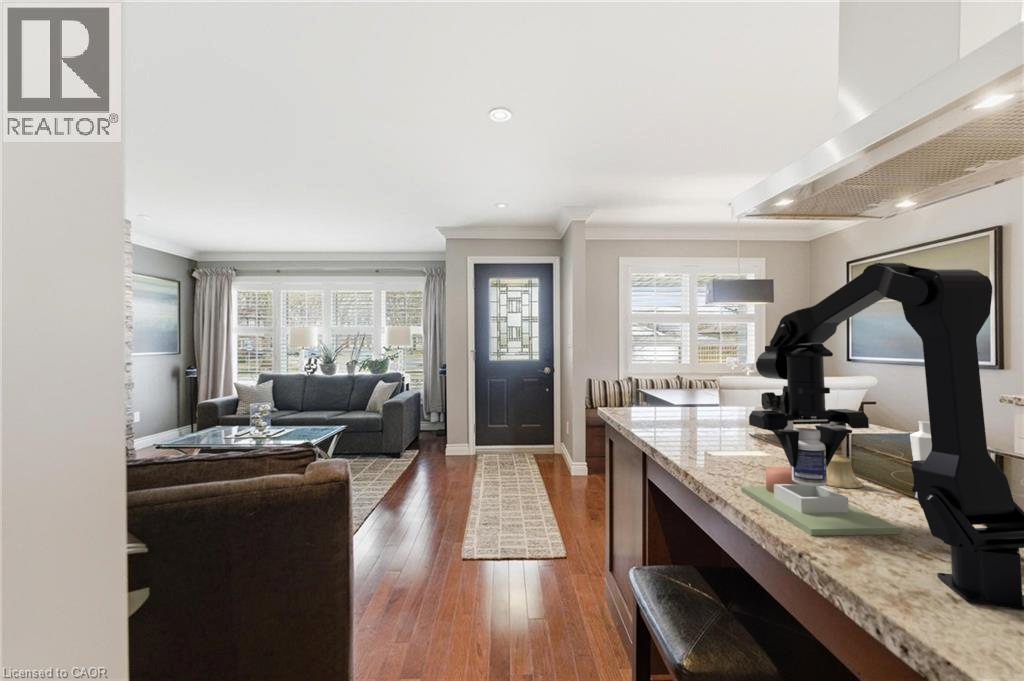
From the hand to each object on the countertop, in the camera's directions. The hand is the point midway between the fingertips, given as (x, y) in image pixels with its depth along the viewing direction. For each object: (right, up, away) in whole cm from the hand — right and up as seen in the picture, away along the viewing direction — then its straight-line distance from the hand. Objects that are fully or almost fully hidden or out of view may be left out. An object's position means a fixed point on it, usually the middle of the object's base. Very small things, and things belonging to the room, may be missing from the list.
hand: (808, 466), depth 81 cm
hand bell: (+17, -8, +15) cm, 24 cm away
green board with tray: (0, -8, 0) cm, 8 cm away
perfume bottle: (+26, -8, +4) cm, 27 cm away
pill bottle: (0, -3, 0) cm, 3 cm away
